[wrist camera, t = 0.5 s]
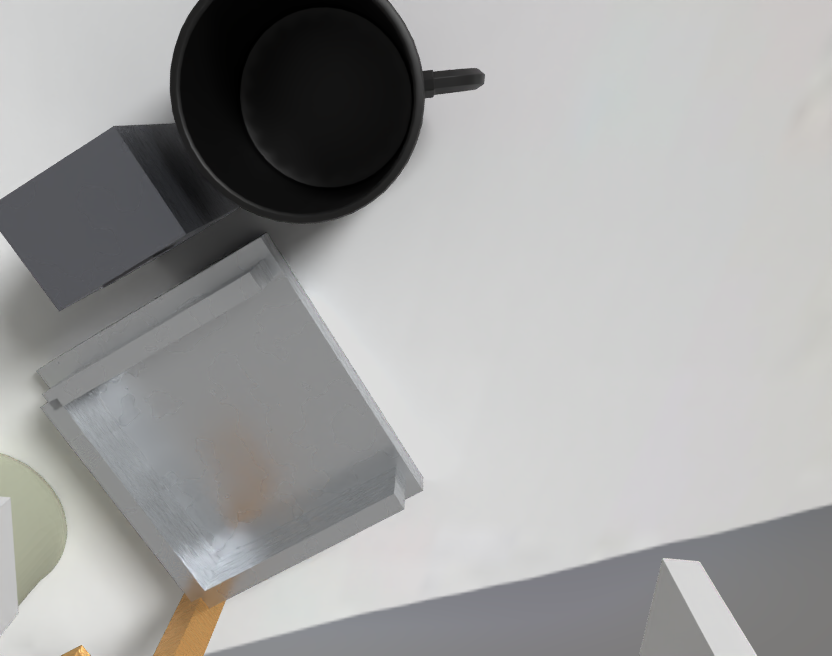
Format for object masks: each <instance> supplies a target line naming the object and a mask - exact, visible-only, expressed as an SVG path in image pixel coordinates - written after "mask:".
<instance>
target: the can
mask: <svg viewBox="0 0 832 656" xmlns="http://www.w3.org/2000/svg"><path fill="white" fill-rule="evenodd" d="M0 496H1V497H11V512H12V526H13V541H14V555H15V570H16V584H17V598H18V606H19V605H20V604H21V602H22V601H23V600H24V599H25V598H26V596H27V595H28V594H29V593H30V592H31V590H32V589H33V588H34V587H35V586H36V585H37V584H38V582H39V581H40V580H41V579H43V578H44V577H45V576H46V575H48V574H49V573H50V572H51V571H52V570H53V568H54V567H55V566H56V564H57V563H58V561H59V560H60V558H61V556H62V554H63V551H64V548H65V544H66V538H67V525H66V518H65V514H64V511H63V508H62V506H61V503H60V501H59V499H58V498H57V496H56V494H55V492H54V491H53V490H52V488H51V487H50V485H49V484H48V483H47V482H46V481H45V480H44V479H43V478H42V477H41V476H40V475H39V474H38V473H37V472H35V471H34V470H33V469H31V468H30V467H29V466H27V465H25V464H24V463H22V462H20V461H18V460H16V459H14V458H12V457H10V456H7V455H4V454H1V453H0Z"/></svg>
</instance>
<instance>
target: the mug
mask: <svg viewBox="0 0 832 656" xmlns="http://www.w3.org/2000/svg"><path fill="white" fill-rule="evenodd" d="M484 78H485V74H484V73H482V72H481V71H480V70H479V69H477V68H468V69H455V70H445V71H436V72H433V70H427V71H422V67H421V62H420V58H419V55H418V52H417V49H416V46H415V43H414V40H413V38H412V36H411V34H410V32H409V31H408V29H407V27H406V25H405V23H404V21H403V20H402V18H401V17H400V15H399V14H398V13H397V11H396V10H395V8H394V7H393V6H392V4H391V3H390V2H389V1H388V0H199V1H198V2H197V4H196V5H195V6H194V7H193V9H192V11H191V12H190V14H189V15H188V17H187V19H186V21H185V23H184V25H183V26H182V28H181V31H180V33H179V36H178V39H177V42H176V45H175V49H174V52H173V58H172V63H171V69H170V96H171V104H172V112H173V115H174V119H175V123H176V126H177V129H178V132H179V135H180V137H181V140H182V142H183V144H184V146H185V149H186V151H187V153H188V154H189V156H190V157H191V159H192V161H193V162H194V164H195V165H196V167H197V168H198V169H199V171H200V172H201V173H202V174H203V176H204V177H205V178H206V179H207V180H208V182H209V183H210V184H211V185H212V186H214V187H215V188H216V189H217V190H218V191H219V192H220V193H221V194H223V195H224V196H225V197H226V198H228V199H229V200H231V201H232V202H234V203H235V204H237V205H238V206H240V207H241V208H243V209H246V210H248V211H250V212H252V213H254V214H256V215H259V216H262V217H265V218H268V219H272V220H275V221H279V222H287V223H298V224H306V223H320V222H325V221H330V220H334V219H338V218H341V217H343V216H346V215H349V214H352V213H354V212H356V211H357V210H359V209H361V208H363V207H365V206H366V205H368V204H369V203H371V202H372V201H374V200H375V199H376V198H377V197H379V196H380V195H381V194H382V193H384V192H385V191H386V190H387V189H388V187H389V186H390V185H391V184H392V183H393V182H394V181H395V180H396V178H397V177H398V176H399V175H400V173H401V172H402V170H403V169H404V167H405V165H406V164H407V162H408V161H409V159H410V156H411V154H412V152H413V150H414V148H415V145H416V143H417V140H418V136H419V133H420V129H421V126H422V121H423V113H424V101H425V98H431V97H434V95H437V94H445V93H453V92H461V91H468V90H475V89H477V88H479V87H480V86H482V85H483V84H484Z"/></svg>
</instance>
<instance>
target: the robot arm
mask: <svg viewBox="0 0 832 656" xmlns="http://www.w3.org/2000/svg"><path fill="white" fill-rule="evenodd" d="M17 614H18V598H17V584H16V570H15V555H14V541H13V526H12V512H11V497H1V496H0V636H1V635H2V634H3V632H4V631H5V630H6V629H7V627H8V626H9V625H10V623H11V622H12V621H13V620H14V618H15V617H16V616H17ZM639 656H757V655H756V653H755V652H754V650H753V649H752V647H751V645H750V643H749V642H748V640H747V639H746V637H745V635H744V634H743V632H742V630H741V629H740V627H739V626H738V624H737V622H736V620H735V619H734V617H733V616H732V614H731V612H730V611H729V609H728V607H727V606H726V604H725V603H724V601H723V599H722V598H721V596H720V594H719V593H718V591H717V590H716V588H715V586H714V584H713V583H712V581H711V580H710V578H709V576H708V575H707V573H706V571H705V570H704V568H703V566H702V565H701V563H700V561H689V560H678V559H667V558H663V559H662V562H661V566H660V571H659V575H658V579H657V583H656V587H655V591H654V595H653V600H652V604H651V608H650V612H649V616H648V620H647V625H646V629H645V633H644V637H643V641H642V645H641V650H640V654H639Z"/></svg>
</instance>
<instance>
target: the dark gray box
mask: <svg viewBox="0 0 832 656" xmlns="http://www.w3.org/2000/svg"><path fill="white" fill-rule="evenodd" d="M238 208H240V206H238V205H237V204H235V203H234V202H232V201H231V200H229V199H228V198H226V197H225V196H224V195H223V194H221V193H220V192H219V191H218V190H217V189H216V188H215V187H214V186H212V185H211V184H210V183H209V182H208V180H207V179H206V178H205V177H204V176H203V174H202V173H201V172H200V171H199V169H198V168H197V167H196V165H195V164H194V162H193V161H192V159H191V157H190V156H189V154H188V153H187V151H186V149H185V146H184V144H183V142H182V140H181V137H180V135H179V132H178V129H177V126H176V123H174V124H151V125H128V126H113V127H112V128H110V129H109V130H107V131H106V132H104V133H103V134H101V135H99V136H98V137H96V138H95V139H93V140H92V141H90V142H89V143H87V144H86V145H84V146H82V147H81V148H79V149H78V150H76V151H74V152H73V153H71V154H70V155H68V156H67V157H65V158H64V159H62V160H61V161H59V162H57V163H56V164H54V165H53V166H51V167H50V168H48V169H47V170H45V171H44V172H42V173H40V174H39V175H37V176H36V177H34V178H33V179H31V180H30V181H28V182H27V183H25V184H24V185H22V186H21V187H19V188H18V189H16V190H14V191H13V192H11V193H10V194H8V195H7V196H5V197H4V198H2V199H1V200H0V232H1V233H2V234H3V236H4V237H5V239H6V240H7V241H8V243H9V244H10V245H11V247H12V248H13V249H14V251H15V252H16V253H17V255H18V256H19V257H20V259H21V260H22V262H23V263H24V264H25V266H26V267H27V268H28V270H29V271H30V272H31V274H32V275H33V276H34V278H35V279H36V280H37V282H38V283H39V285H40V286H41V287H42V289H43V290H44V291H45V293H46V294H47V295H48V297H49V298H50V299H51V301H52V302H53V303H54V305H55V306H56V308H57V309H58V310H59V311H61V310H63V309H64V308H66V307H68V306H70V305H72V304H74V303H75V302H77V301H79V300H81V299H83V298H85V297H86V296H88V295H90V294H92V293H94V292H96V291H97V290H99V289H101V288H104V287H106V286H108V285H110V284H112V283H113V282H115V281H117V280H119V279H121V278H122V277H124V276H126V275H128V274H130V273H131V272H133V271H135V270H136V269H138V268H140V267H141V266H143V265H145V264H147V263H149V262H151V261H152V260H154V259H156V258H157V257H159V256H161V255H162V254H164V253H166V252H167V251H169V250H170V249H172V248H174V247H175V246H177V245H179V244H180V243H182V242H184V241H185V240H187V239H189V238H190V237H192V236H194V235H195V234H197V233H199V232H200V231H202V230H203V229H205V228H207V227H208V226H210V225H212V224H213V223H215V222H217V221H218V220H220V219H222V218H223V217H225V216H227V215H228V214H230V213H231V212H233V211H235V210H236V209H238Z"/></svg>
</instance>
